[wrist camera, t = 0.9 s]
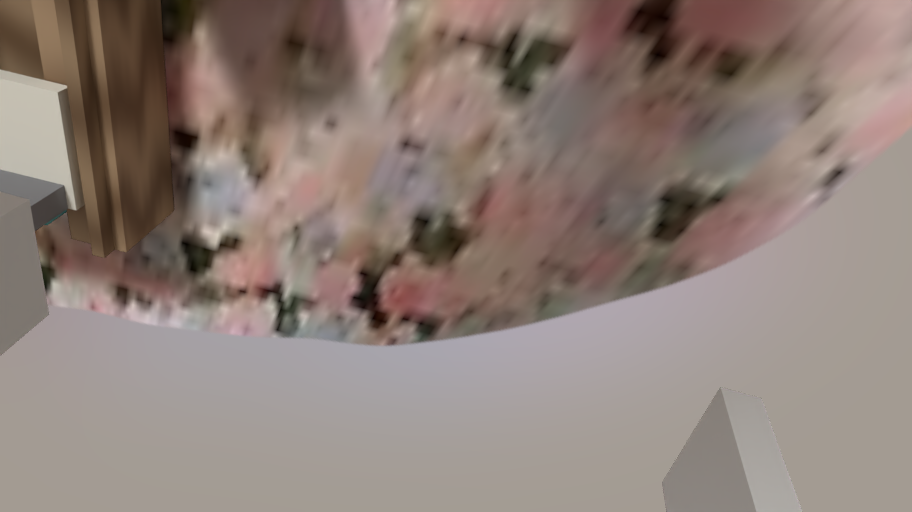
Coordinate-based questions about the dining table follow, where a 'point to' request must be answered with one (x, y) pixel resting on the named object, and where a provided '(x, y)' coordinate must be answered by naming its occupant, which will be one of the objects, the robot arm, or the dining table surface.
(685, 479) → the robot arm
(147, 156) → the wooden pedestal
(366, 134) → the dining table surface
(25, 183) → the lid
